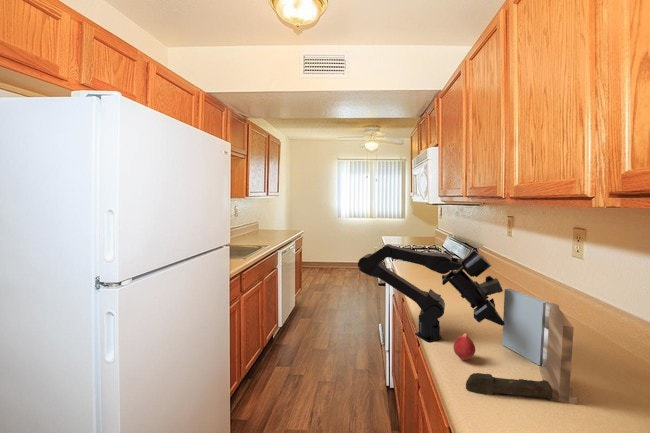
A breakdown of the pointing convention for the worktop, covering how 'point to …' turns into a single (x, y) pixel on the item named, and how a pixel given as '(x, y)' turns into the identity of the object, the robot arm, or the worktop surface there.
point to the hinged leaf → (524, 325)
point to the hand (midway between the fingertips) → (503, 324)
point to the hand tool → (508, 386)
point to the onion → (464, 347)
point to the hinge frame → (558, 354)
